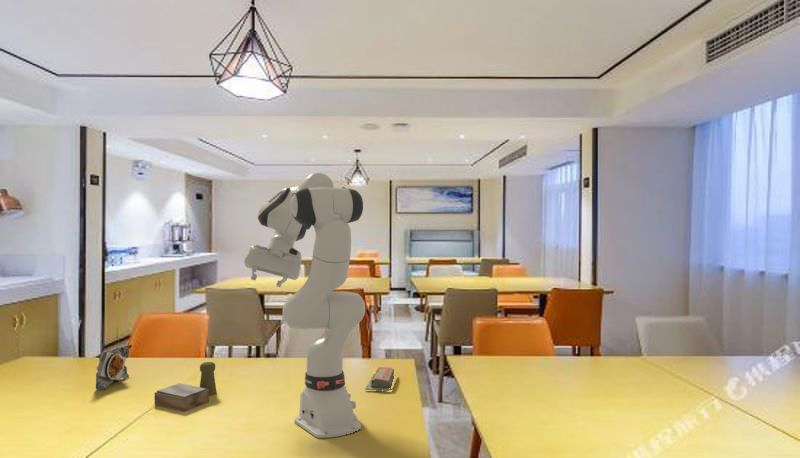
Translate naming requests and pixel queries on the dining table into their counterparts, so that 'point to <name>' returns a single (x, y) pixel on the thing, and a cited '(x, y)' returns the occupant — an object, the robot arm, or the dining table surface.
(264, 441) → the dining table surface
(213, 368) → the brown chess pawn
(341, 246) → the robot arm
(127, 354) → the grey mechanical part
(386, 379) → the packaged product
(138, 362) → the dining table surface
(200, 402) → the walnut riser
